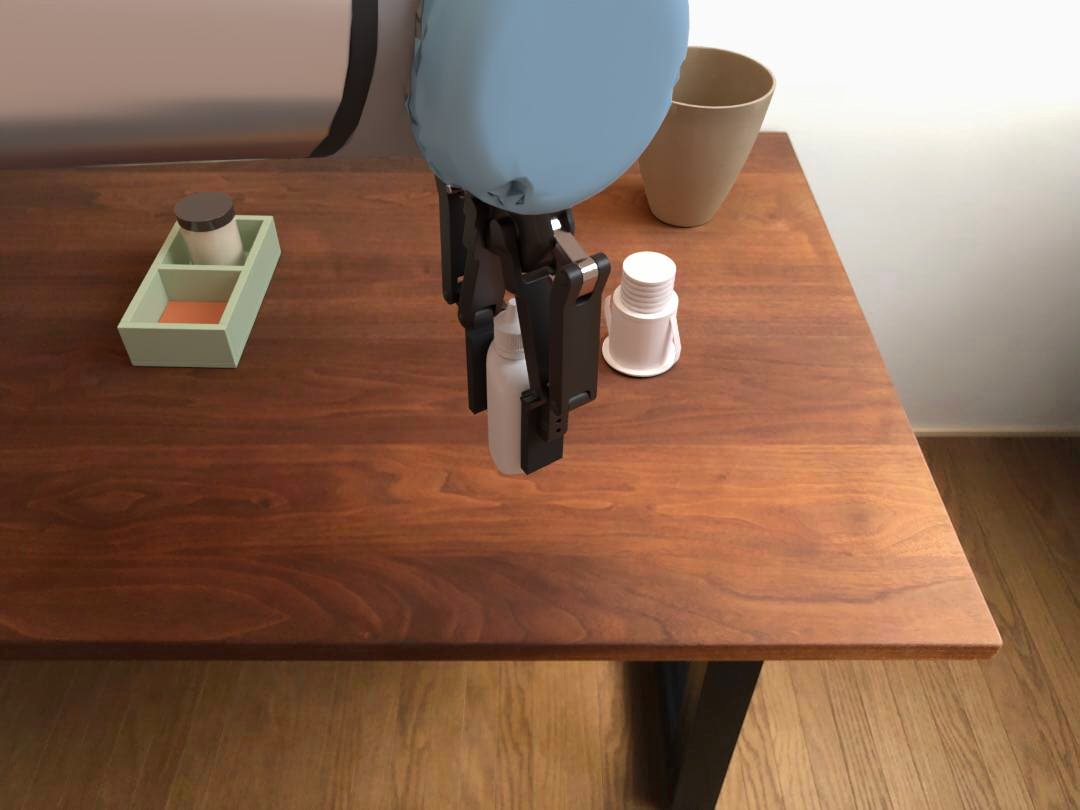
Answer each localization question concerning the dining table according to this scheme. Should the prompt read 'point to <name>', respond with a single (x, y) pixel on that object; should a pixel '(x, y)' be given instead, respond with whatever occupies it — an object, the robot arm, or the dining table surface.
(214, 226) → the spice jar
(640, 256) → the downlight
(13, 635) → the dining table surface
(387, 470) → the dining table surface
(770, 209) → the dining table surface
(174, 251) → the green divided tray
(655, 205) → the plant pot
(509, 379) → the eye dropper bottle
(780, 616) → the dining table surface
